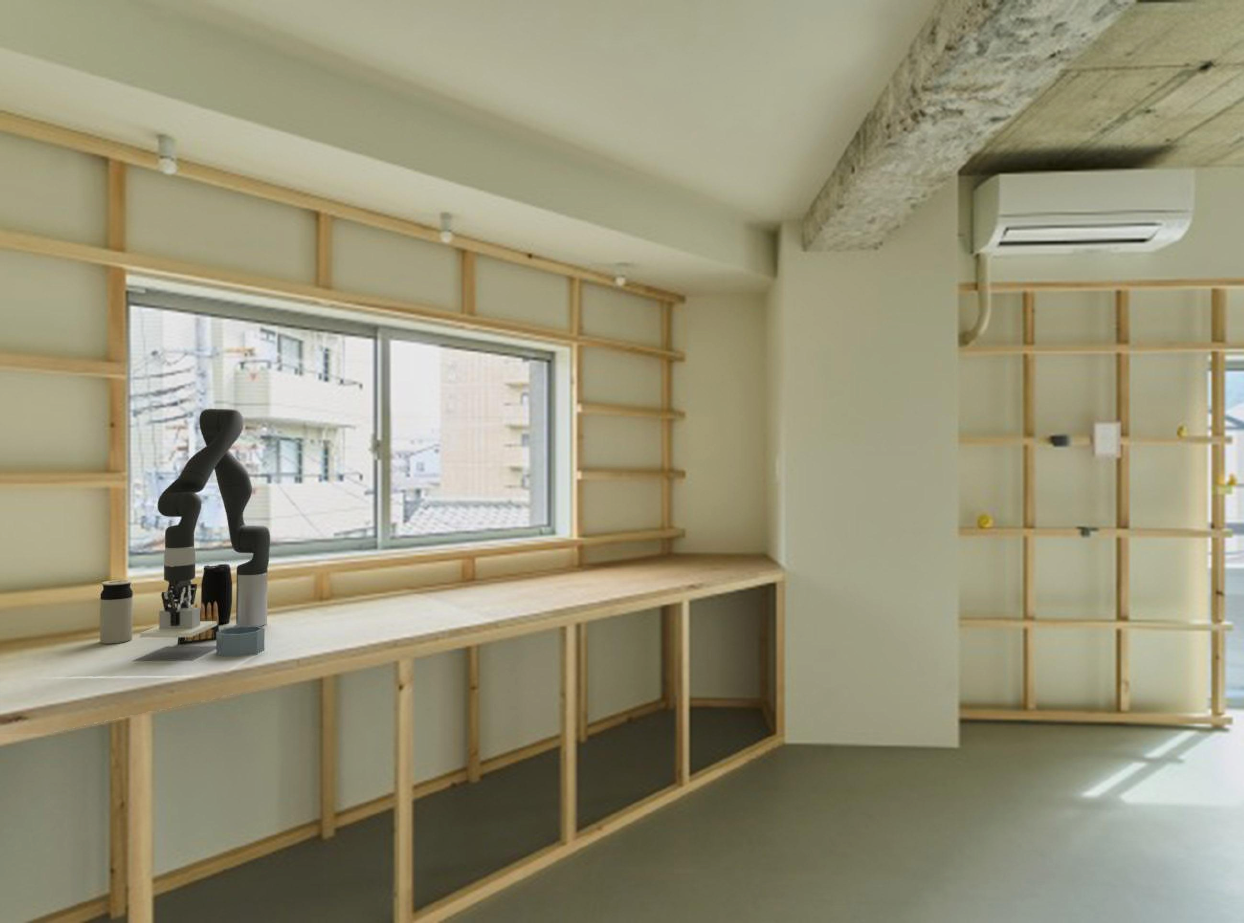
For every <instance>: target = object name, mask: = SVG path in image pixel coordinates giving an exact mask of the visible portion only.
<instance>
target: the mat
mask: <svg viewBox="0 0 1244 923" xmlns="http://www.w3.org/2000/svg"><path fill="white" fill-rule="evenodd" d="M213 651H216V645H208V646H207V645H202V646H201V645H198V646H197V645H193V646H191V645H188V646H187V645H182V646H181V645H178V646H177V645H176V646H175V645H174V646H173V645H172V646H169V645H168V646H167V645H166V646H164V647H161V648H159V649H157V650H155V651H152V652H149V653H147V654H145V655H142V656H140V657H137V658H135V659H133V660H132V662H182V661H183V662H188V661H189V662H191V661H194V660H196V659H200V658H201V657H203V656H205V655H207V654H209V653H211V652H213Z"/></svg>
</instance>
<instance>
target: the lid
mask: <svg viewBox="0 0 1244 923" xmlns="http://www.w3.org/2000/svg"><path fill="white" fill-rule="evenodd" d="M200 608H201V607H198V608H194V607H191V608H180V611H179V612H180V625H178V626H171V625H170V612H165V610H164V608H163V609H161V610H159V611H158V614H159V615H158V622H159V623H158V624H159V625H156V626H155V627H152V628H150V629H147V630H145V631H142V632H140V634H139V636H140V637H139V638H178V637H185V638H186V637H193V636H195V635H197V634H199V633H201V632H204V631H205V632H206V630H208V629H210V628H212V627H215V626H217V621H200Z"/></svg>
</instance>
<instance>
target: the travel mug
mask: <svg viewBox="0 0 1244 923" xmlns="http://www.w3.org/2000/svg"><path fill="white" fill-rule="evenodd" d="M132 581H133V580H130V579H116V580H114V579H113V580H107V581H103V582H102V583H101V585H102V588H103V589H102V591H101V593H100V598H99V599H100V600H99V601H100V603H99V604H100V608H99V611H100V613H99V614H100V615H99V619H100V620H99V626H100V628H99V642H100V643H101V644H104V645H115V644H123V643H127V642H129V641H131V640H132V639H133V605H134V604H133V602H134V601H133V596H134V595H133V593H134V592H133V590H132V588H131V583H132Z"/></svg>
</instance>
